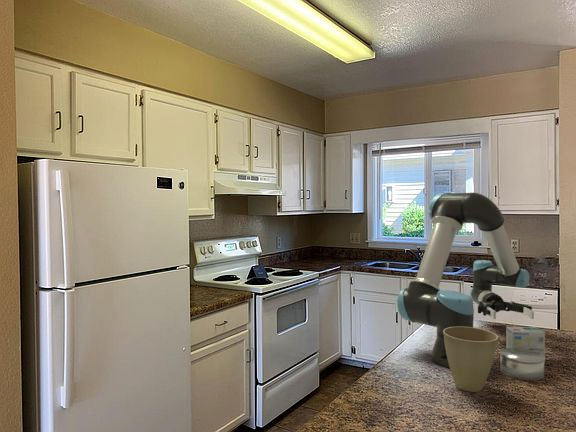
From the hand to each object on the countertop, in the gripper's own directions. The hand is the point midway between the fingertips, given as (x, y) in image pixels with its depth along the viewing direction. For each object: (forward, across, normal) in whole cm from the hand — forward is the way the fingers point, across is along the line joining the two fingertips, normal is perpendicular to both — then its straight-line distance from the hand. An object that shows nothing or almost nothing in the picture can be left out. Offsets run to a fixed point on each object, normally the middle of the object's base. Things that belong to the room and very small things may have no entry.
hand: (513, 315), depth 164 cm
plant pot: (+35, +28, -12) cm, 46 cm away
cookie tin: (+23, +7, -13) cm, 27 cm away
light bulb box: (+10, +1, -13) cm, 17 cm away
